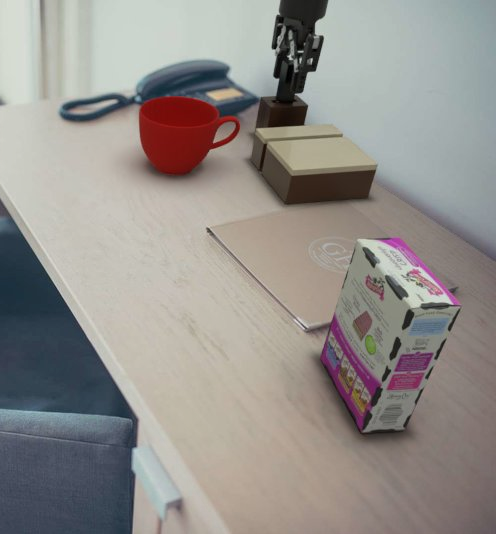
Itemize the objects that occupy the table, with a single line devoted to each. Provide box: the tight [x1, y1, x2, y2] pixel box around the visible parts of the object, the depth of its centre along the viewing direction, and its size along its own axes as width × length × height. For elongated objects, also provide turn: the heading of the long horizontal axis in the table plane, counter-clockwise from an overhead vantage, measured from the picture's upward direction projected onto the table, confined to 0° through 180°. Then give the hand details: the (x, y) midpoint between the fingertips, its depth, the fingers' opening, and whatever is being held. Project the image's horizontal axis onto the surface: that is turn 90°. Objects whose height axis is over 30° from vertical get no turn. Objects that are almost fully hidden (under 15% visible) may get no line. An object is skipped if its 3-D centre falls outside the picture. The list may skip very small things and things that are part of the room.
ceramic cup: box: [138, 95, 241, 176], centre depth 107 cm, size 13×17×10 cm
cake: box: [261, 136, 379, 205], centre depth 104 cm, size 14×10×6 cm
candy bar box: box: [319, 236, 463, 434], centre depth 64 cm, size 11×5×16 cm, turn 6°
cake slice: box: [250, 123, 344, 171], centre depth 110 cm, size 14×4×6 cm, turn 100°
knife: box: [275, 59, 296, 104], centre depth 115 cm, size 3×2×14 cm
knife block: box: [253, 94, 309, 136], centre depth 117 cm, size 7×5×8 cm
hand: (287, 85), depth 113 cm, fingers open, 7 cm apart
